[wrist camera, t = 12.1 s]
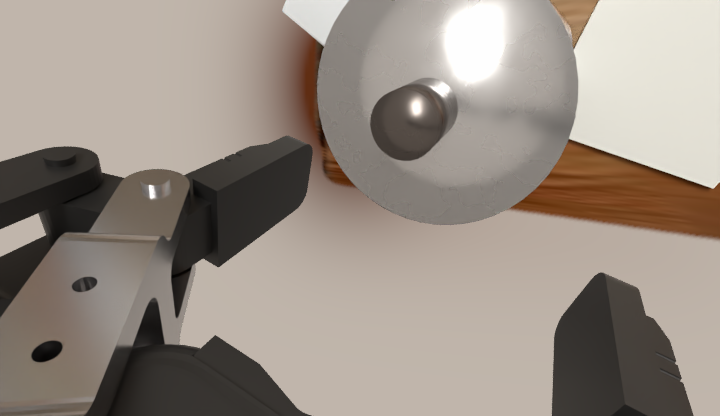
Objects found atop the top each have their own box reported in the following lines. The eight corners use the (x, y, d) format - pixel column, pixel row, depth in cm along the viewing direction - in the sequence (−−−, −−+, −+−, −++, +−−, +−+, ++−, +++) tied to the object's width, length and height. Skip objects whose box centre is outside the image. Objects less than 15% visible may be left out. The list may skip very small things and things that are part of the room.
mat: (893, -17, 25) (899, -18, 25) (711, 186, 35) (713, 188, 34) (633, -69, 30) (634, -70, 29) (534, 125, 39) (534, 126, 39)
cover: (613, 3, 32) (677, -9, 13) (523, 171, 41) (487, 301, 23) (433, -41, 36) (294, -95, 18) (390, 119, 46) (269, 191, 27)
